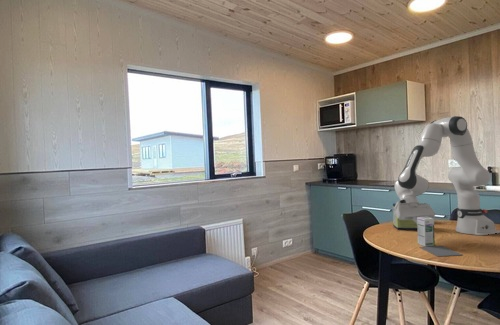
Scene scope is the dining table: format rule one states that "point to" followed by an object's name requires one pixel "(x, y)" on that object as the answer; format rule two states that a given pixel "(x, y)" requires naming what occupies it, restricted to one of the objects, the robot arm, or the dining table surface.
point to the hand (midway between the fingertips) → (421, 224)
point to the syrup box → (425, 231)
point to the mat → (440, 251)
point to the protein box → (403, 222)
